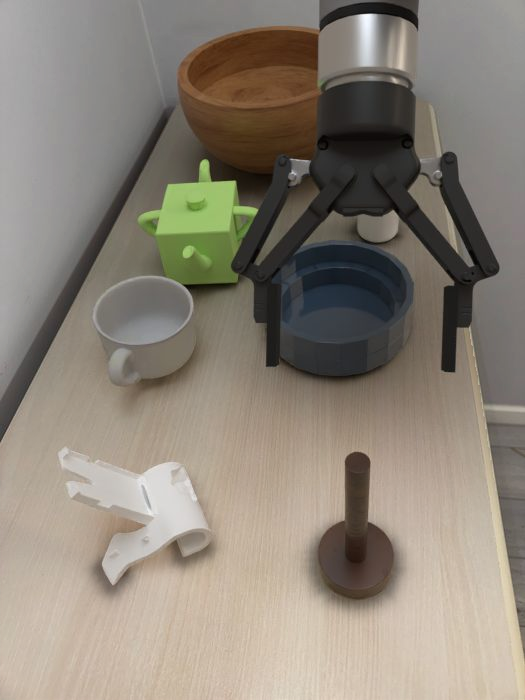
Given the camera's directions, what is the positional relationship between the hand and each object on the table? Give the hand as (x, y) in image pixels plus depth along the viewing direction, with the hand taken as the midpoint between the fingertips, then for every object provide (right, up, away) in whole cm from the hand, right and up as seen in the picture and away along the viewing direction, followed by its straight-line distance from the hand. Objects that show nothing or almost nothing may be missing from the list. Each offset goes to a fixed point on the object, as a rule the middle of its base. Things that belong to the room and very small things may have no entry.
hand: (358, 369), depth 53 cm
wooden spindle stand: (+1, -17, +6) cm, 18 cm away
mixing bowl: (+1, +4, +26) cm, 26 cm away
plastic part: (-18, -16, +10) cm, 25 cm away
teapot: (-15, +13, +35) cm, 40 cm away
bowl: (-6, +30, +51) cm, 59 cm away
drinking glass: (+8, +17, +37) cm, 41 cm away
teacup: (-20, -1, +24) cm, 32 cm away
